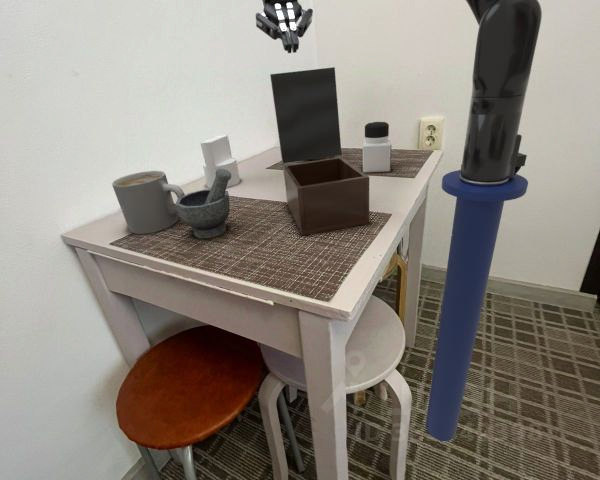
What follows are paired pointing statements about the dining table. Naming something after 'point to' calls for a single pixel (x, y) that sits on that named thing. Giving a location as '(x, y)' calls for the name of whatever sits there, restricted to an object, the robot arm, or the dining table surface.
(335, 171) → the open box
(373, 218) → the dining table surface
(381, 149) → the medicine bottle
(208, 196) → the mortar and pestle
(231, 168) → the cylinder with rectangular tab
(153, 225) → the coffee mug
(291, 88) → the dark grey box lid
